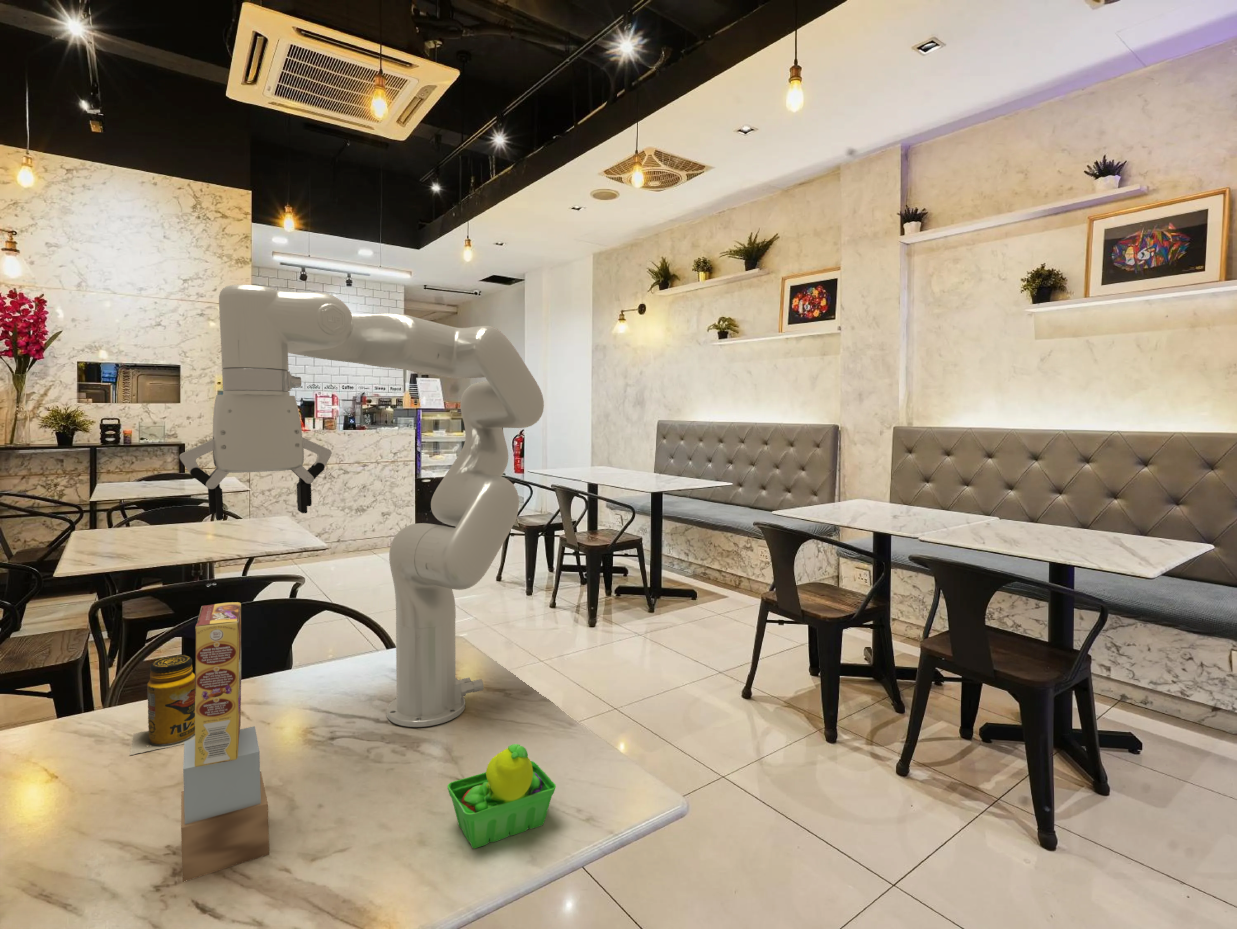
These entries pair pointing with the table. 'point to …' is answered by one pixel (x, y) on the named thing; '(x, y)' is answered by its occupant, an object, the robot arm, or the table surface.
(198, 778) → the slate block
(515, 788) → the fruit basket
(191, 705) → the condiment
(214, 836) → the walnut block
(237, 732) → the candy box
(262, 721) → the table surface
